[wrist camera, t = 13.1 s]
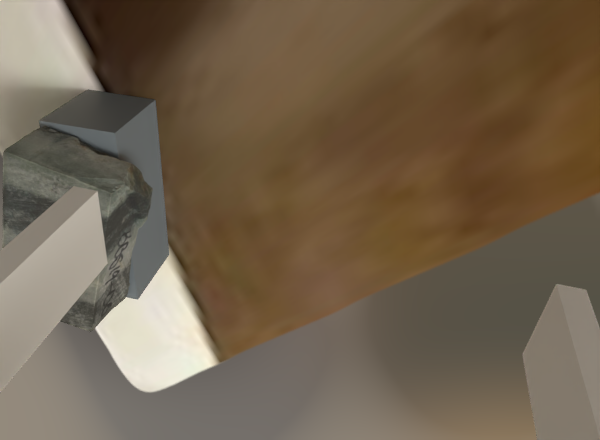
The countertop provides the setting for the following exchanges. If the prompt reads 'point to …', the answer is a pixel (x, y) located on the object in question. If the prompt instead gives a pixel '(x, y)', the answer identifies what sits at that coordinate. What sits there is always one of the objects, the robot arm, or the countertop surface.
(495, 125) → the countertop surface
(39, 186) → the stone block
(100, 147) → the block
